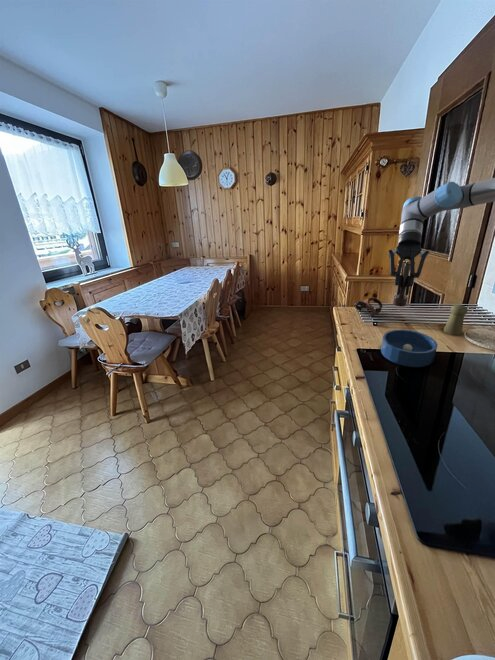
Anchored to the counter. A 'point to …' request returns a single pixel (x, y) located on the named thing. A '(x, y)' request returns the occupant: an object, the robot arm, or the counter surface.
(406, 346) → the dumpling
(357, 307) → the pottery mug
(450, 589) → the counter surface
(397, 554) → the counter surface
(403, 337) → the bowl
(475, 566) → the counter surface
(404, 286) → the brown wooden pestle
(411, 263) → the robot arm
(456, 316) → the olive green waisted cylinder
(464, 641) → the counter surface
